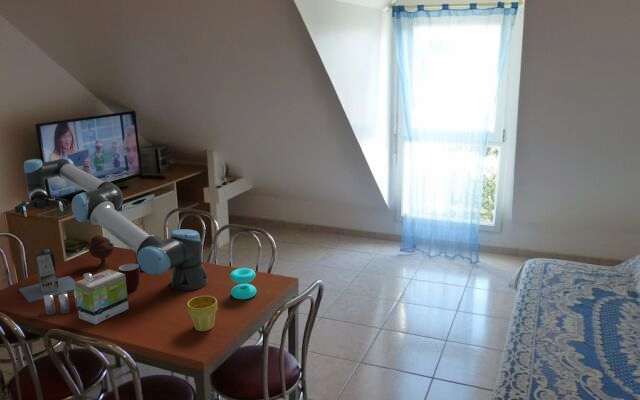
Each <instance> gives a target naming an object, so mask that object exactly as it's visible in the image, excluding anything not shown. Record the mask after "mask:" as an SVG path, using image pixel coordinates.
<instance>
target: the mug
mask: <svg viewBox="0 0 640 400" xmlns="http://www.w3.org/2000/svg"><path fill="white" fill-rule="evenodd" d="M118 272H119V273H123V274H125V277H126V287H127V293H128V292H135V291H137V290H138V287H139V284H140V278H141V277H140V276H141V270H140V268H139V265H138V264H136V262H134V263H133V262H132V263H131V262H130V263H125V264H122V265H120V266H119V267H118Z"/></svg>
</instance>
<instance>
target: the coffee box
mask: <svg viewBox="0 0 640 400" xmlns="http://www.w3.org/2000/svg"><path fill="white" fill-rule="evenodd" d="M34 254H35V260H36V267H37V273H38V279H39V283H40V286H41V289H42V293H47V292H52V291H58V290H59V286H58V279H59V278H58V273H57V266H56V260H55V253H54V250H53V249H52V247H51V246H49V247H44V248H40V249H35V250H34Z"/></svg>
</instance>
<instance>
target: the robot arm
mask: <svg viewBox="0 0 640 400" xmlns="http://www.w3.org/2000/svg"><path fill="white" fill-rule="evenodd" d="M23 172H24V177H25V181H26V188H27V196H28V199H29V202H28V201H26V200H22V202H21V203H19V204H18V205H16V206H14V210H15V213H16V214H19V213H20V215H24V217H28V213H27V212H28V211H30V210H35V209H37V210H44V209H46V208H50V207H58V208H59V210H60V211H61V212H64V208H65V207H68V206H69V200H68V199H65V198H60V197H58V196H54V197H53V198H50V197H49V195H48V192H47V188H46V180H47V179H51V178H57V177H59V178H61V179H62V180H64V181H67V182H68V183H70V184H72V185H74V186H76V187H78V188H80V189H81V190H83V191H84V192H81V193H79V194H76V195H75V196H73V198H72V201H71V211H72V214H73V216H74V218H75V219H76V221H78V222H79V223H86V222H89V223H90V224H92V225H93V227H101V228H103V229H105V230H106V231H107V232H108V233H110V234H111V235H112V236H113V237H115V238H116V239H117V240H119V241H120V242H121V243H123V244H124V245H126V246H127V247H128V248H129V249H131V250H132V251H134V253H135V252H136V257H137V261H138V264H139V265H140V268H141V269H142V270H143V272H144V273H145V274H147V275H149V276H158V275H162V274H164V273H166V272H168V271H170V270H172V269H173V270H172V272H171V276H170V287H171V288H173V289H174V290H177V291H183V292H184V291H185V292H187V291H194V290H198V289H201V288H203V287H205V286H206V285H207V284H208V283H209V281H208V280H209V279H208V275H207V272H206V270H205V268H204V266H203V257H202V245H201V243H202V240H201V237H200V235H201V234H200V233H199V232H198V231H197V230H194V229H186V228H185V229H184V228H183V229H182V228H181V229H175V230H172V231H171V232H170V234H169V235H170V237H169V238H166V239H162V237H159V236H158V235H157V234H151V235H150V234H149V233H148V232H146V231H145V230H144V229H142V228H141V227H139V226H138V225H137V224H135V222H133V221H131V220H130V219H128V218H127V217H125V216H124V215H123V214H122V213H120V212H118V210H120V208H121V206H122V205H123V203H124V195H123V192H122V190H121V189H120V188H119V187H118V185H116V184H114V183H113V182H111V181H108V180H105V181H104V180H102V179H100V178H98V177H96V176H94V175H92V174H90V173H88V172H86V171H84V170H83V169H80V168H79V167H77V166H76V165H75V164H74V161H72V159H71V158H68V157H65V158H58V159H54V160H49V161H44V162H43V161H42V159H37V158H33V159H28V160H25V161H24V163H23ZM142 270H141V271H142Z"/></svg>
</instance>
